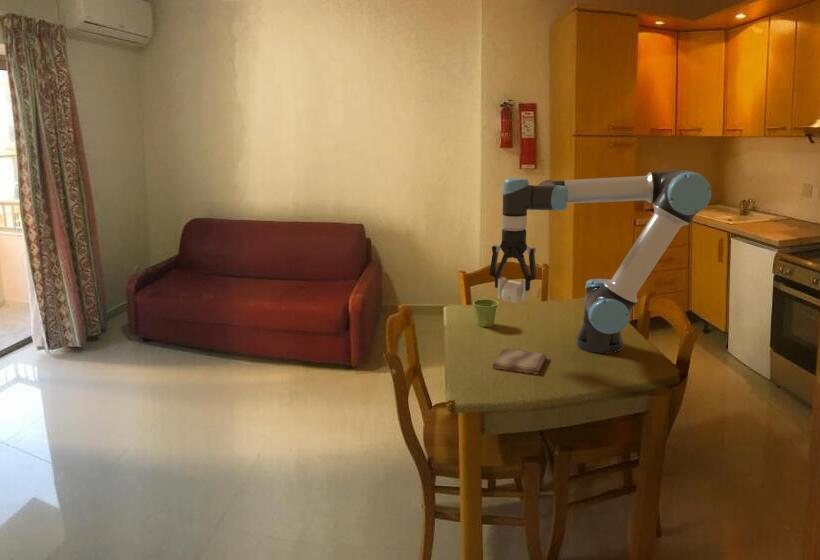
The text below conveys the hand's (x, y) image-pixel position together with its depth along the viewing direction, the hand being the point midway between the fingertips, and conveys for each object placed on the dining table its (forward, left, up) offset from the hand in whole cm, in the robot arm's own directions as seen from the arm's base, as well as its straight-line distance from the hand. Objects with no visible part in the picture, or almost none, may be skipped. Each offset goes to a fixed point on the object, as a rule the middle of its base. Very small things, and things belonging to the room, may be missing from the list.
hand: (512, 298), depth 202 cm
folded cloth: (-5, +7, -19) cm, 21 cm away
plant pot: (+15, -26, -19) cm, 36 cm away
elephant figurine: (0, 0, -1) cm, 1 cm away
